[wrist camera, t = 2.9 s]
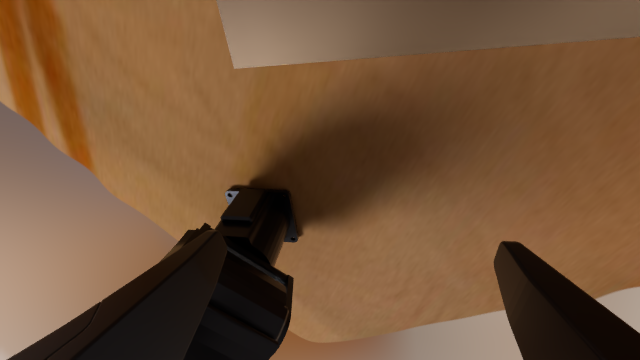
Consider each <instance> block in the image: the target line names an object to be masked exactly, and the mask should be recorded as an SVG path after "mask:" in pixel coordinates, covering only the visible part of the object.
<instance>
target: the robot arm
mask: <svg viewBox="0 0 640 360" xmlns="http://www.w3.org/2000/svg"><path fill="white" fill-rule="evenodd" d="M231 194H232V195H231ZM283 195H286V196H283ZM225 196H226V199H227V201H228V204H229V206H228V207H227V209H226V210H225V211H224V213H223V214H222V216H221V217H220V218H221V221H220V222H219V224H218V225H217V226H216V228H215V229H212V228H211V226H210V225H208V224H206V223H204V225H203V226H202V227H201V228H200V230H199V229H198V228H197V229H196V230H188V231H187V232H186V233H185V235H184V236H183V237H182V238H181V239H180V241H179V242H178V243H177V244H176V245H175V246H174V247H173V248H172V250H171V251H170V252H169V253H168V254H167V255H166V256H165V257H164V258H163V259H162V260H161V261H160V262H159V263H158V264H156V265H155V266H153V267H152V268H150V269H149V270H147V271H146V272H144V273H143V274H141V275H140V276H138V277H137V278H135V279H134V280H132V281H131V282H129V283H128V284H126V285H125V286H123V287H122V288H120V289H119V290H117V291H116V292H114V293H113V294H111V295H109V296H108V297H107V298H105V299H103V300H102V302H99V303H97V304H96V305H94V306H93V307H91V308H90V309H88V310H87V311H85V312H84V313H82V314H81V315H79V316H78V317H76V318H75V319H73V320H71V321H70V322H68V323H67V324H65V325H64V326H62V327H60V328H59V329H57V330H55V331H54V332H52V333H51V334H49V335H47V336H46V337H44V338H42V339H41V340H39V341H37V342H36V343H34V344H32V345H31V346H29V347H27V348H26V349H24V350H22V351H21V352H19V353H17V354H16V355H14V356H12V357H11V358H9V359H7V360H269V359H270V357H271V356H272V355H273V354H274V353H275V352H276V351H277V349H278V348H279V346H280V344H281V343H282V341H283V339H284V337H285V335H286V332H287V330H288V327H289V323H290V319H291V308H292V293H293V279H294V278H293V277H291V276H290V275H286V274H284V273H283V272H281V271H280V270H278V269H276V268H275V267H274V266H275V263H276V260H277V258H278V255H279V253H280V250H281V247H282V245H283V242H297V241H298V237H299V236H298V231H297V226H296V221H295V216H294V211H293V206H292V201H291V196H290V193H289V192H288V191H287V190H265V189H228V190H227V191H226V193H225ZM293 237H294V238H293ZM494 269H495V272H496V276H497V280H498V284H499V288H500V291H501V295H502V299H503V303H504V306H505V310H506V314H507V317H508V320H509V323H510V326H511V329H512V331H513V334H514V336H515V339H516V342H517V344H518V347H519V349H520V352H521V355H522V357H523V360H640V333H638V332H637V331H636V330H634V329H633V328H632V327H631V326H629V325H628V324H626V323H625V322H624V321H623V320H621V319H620V318H619V317H617V316H616V315H615V314H613V313H612V312H611V311H610V310H608V309H607V308H606V307H604V306H603V305H602V304H600V303H599V302H597V301H596V300H595V299H594V298H592V297H591V296H590V295H588V294H587V293H586V292H584V291H583V290H582V289H580V288H579V287H578V286H576V285H575V284H574V283H573V282H571V281H570V280H569V279H567V278H566V277H565V276H563V275H562V274H561V273H559V272H558V271H557V270H555V269H554V268H553V267H551V266H550V265H549V264H547V263H546V262H545V261H543V260H542V259H541V258H539V257H538V256H537V255H536V254H534V253H533V252H532V251H530V250H529V249H528V248H526V247H525V246H524V245H522V244H521V243H519V242H515V241H502V242H501V243H500V244H499V247H498V250H497V253H496V256H495V259H494Z"/></svg>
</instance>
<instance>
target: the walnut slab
mask: <svg viewBox="0 0 640 360" xmlns="http://www.w3.org/2000/svg"><path fill="white" fill-rule="evenodd" d="M217 4H218V8H219V12H220V16H221V20H222V24H223V28H224V31H225V35H226V39H227V43H228V47H229V51H230V55H231V58H232V62H233V66H234V69H237V68H250V67H262V66H275V65H288V64H301V63H313V62H326V61H339V60H352V59H364V58H377V57H390V56H402V55H415V54H428V53H441V52H453V51H466V50H479V49H492V48H504V47H517V46H530V45H543V44H555V43H568V42H581V41H593V40H606V39H619V38H632V37H640V0H217Z"/></svg>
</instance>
